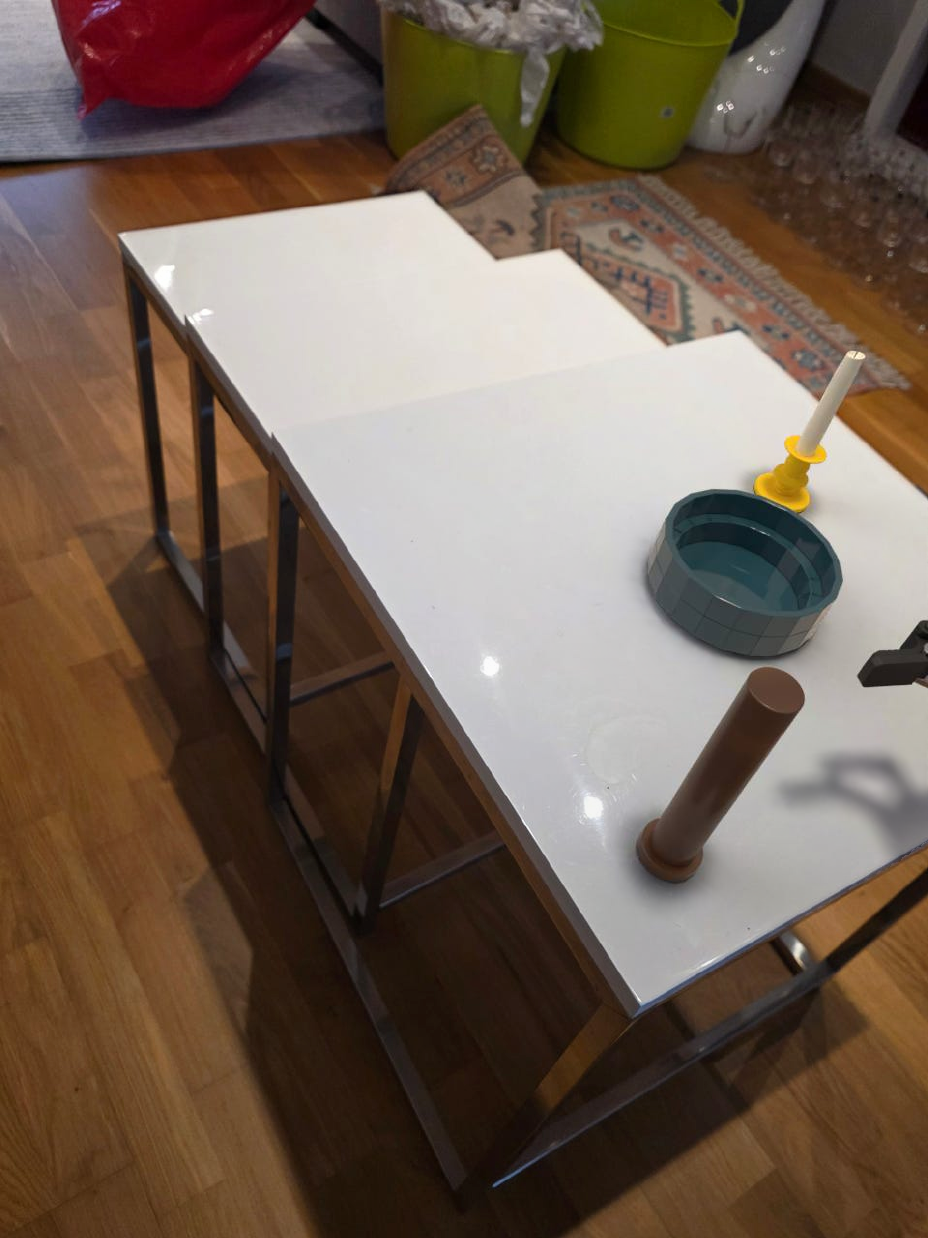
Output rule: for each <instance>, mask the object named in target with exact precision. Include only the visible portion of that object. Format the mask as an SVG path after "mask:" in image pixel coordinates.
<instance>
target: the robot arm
mask: <svg viewBox="0 0 928 1238" xmlns="http://www.w3.org/2000/svg"><path fill="white" fill-rule="evenodd" d="M856 677H857V680H858V681H859V683H860V684H861V686H862V687H863V688H880V687H897V686H898V687H899V686H912V685H913V684H917V685H920V686H921V687H924V688H926V689H928V619H922V620H920V621H919V622H918V623H917V624H916V626H915V627H914V628H913V630H912V631H911V632H910V634H909V635H908V636H907V637H906V639H904V641H903V643H902V644H901V645H900V646H899V648H897V649H895V648H894V649H878V650H875V652H873V653H872V654H871V655H870V656H869V658H868V659H867V661H866V662H865V663H864V665H863V666H862V667H861V669H860V671H859V672H858V673H857V675H856Z"/></svg>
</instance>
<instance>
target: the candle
mask: <svg viewBox="0 0 928 1238" xmlns="http://www.w3.org/2000/svg"><path fill="white" fill-rule="evenodd" d="M865 359H866V354H864V353H863V352H861V351H860V348H857V350H849V351H848V352H846V354H845V355H844V357H843V358H842V360H841V362H840V364H839V365H838V367H837V369H836V370H835V372H834V374H833V376H832V378H831V379H830V382H829V383H828V386H827V387H826V389H825V390H824V393H823V394H822V396H821V398H820V400H819V402H818V403H817V406H816V407H815V409H814V411H813V413H812V415H811V417H810V419H809V420H808V422H807V424H806V426H805V427H804V430H802V431H803V432H802V433H801V435H799V434H794V435H793V434H792V435H789V436H787V437H785V439H784V442H783V446H784V449H785V450H786V452H787V453H788V455H787V456H786V457H785V460H784V463H779V464H777V465H775V467H774V469H773V471H772V472H765V473H763V474H760V475H759V476H758V477H756V480H755V482H754V484H753V490H754V494H756V495H760V496H763V497H766V498H768V499H770V500H773V501H775V502H777V503H779V504H782V505H784V506H786V507H788V508H790V509H791V510H793V511H794V512H796V513H797V514H799V513H801V512H802V513H803V512H804V511H805V510H806V509H807V508H808V507H809V505H810V503H811V495H810V493H809V491H808V490H807V488H806V487H807V486H808V484H809V480H810V479H809V476H808V474H807V473H808V472H809V471H810V469H811V466H812V465H811V464H813V465H817V464H821V463H823V462H825V461H826V459H827V457H828V454H827V450H826V448H824V447H823V446H822V445H821V444H820V443H821V441H822V440H823V438H824V436H825V434H826V432H827V430H828V429H829V426H830V425H831V423H832V421H833V419H834V418H835V415H836V413H837V412H838V410H839V408H840V406H841V404H842V402H843V401H844V399H845V397H846V395H847V393H848V392H849V390H850V388H851V386H852V384H853V382H854V381H855V379H856V377H857V374H858V372H859V370H860V369H861V366H862V364H863V362H864V360H865Z"/></svg>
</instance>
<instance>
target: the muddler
mask: <svg viewBox="0 0 928 1238" xmlns="http://www.w3.org/2000/svg"><path fill="white" fill-rule="evenodd" d="M805 695H806V694H805V691H804V688H803V686H801V683H800V682H799V681H798V680H797V679H796V678H795V677H793V676H792V675H791V674H790V673H788V672H786V671H784V670H782V669H780V668H777V667H773V666H761V667H758V668H756V669H754V670H752V671H751V672H750V673H749V675H748V676H747V678H746V680H745V681H744V683H743V685H742V686H741V687H740V690H738V692H737V694H736V695H735V697H734V699H733V700H732V702H731V703H730V705H729V707H728V709H727V710H726V712H725V714H724V715H723V716H722V718H721V720H720V721H719V723H718V725H717V726H716V727H715V729H714V731H713V733H712V734H711V736H710V737H709V739H708V741H707V742H706V743H705V746H704V747H703V748H702V750H701V752H700V753H699V755H698V757H697V759H695V761H694V763H693V764H692V766H691V768H690V769H689V770H688V771H689V772H688V773H687V775H686V776H685V777H684V778H683V781H682V782H681V784H680V785H679V787H678V789H677V790H676V792H675V794H674V795H673V797H672V799H670V802H669V803H668V805H667V807H666V808H665V810H664V811H663V813H662V814H661V815H660V817H659V818H658V817H657V818H656V819H653V820H651V821H649V822H648V823H647V824H646V825H645V826H644V828H643V830H642V831H641V832H640V835H639V836H638V839H637V843H636V850H637V855H638V858H639V860H640V862H641V864H642V866H644V868H645V869H646V870H647V871H648V872H649V873H650V874H651V875H653V876H655V877H656V878H657V879H660V880H662V881H665V882H669V883H670V882H671V883H679V882H684V881H686V880H688V879H689V878H691V877H692V876H693V875H694V874H695V873H696V872H697V870H698V869H699V868H700V866H701V864H702V861H703V858H704V849H703V847H704V846H705V844H706V843H707V842H708V840H709V838H710V837H711V836H712V834H713V833H714V832H715V830H716V829H717V828H718V826H719V825H720V823H721V822H722V820H723V819H724V818H725V816H726V815H727V814H728V812H729V811H730V809H731V808H732V807H733V805H734V804H735V802H736V801H737V799H738V798H739V797H740V796H741V794H742V792H743V791H744V790H745V788H746V787H748V784H749V783H750V782H751V780H752V779H753V777H754V776H755V774H756V773H757V772H758V770H759V769H760V768H761V766H762V765H763V763H764V762H765V761H766V759H767V758H768V756H769V755H770V754H771V752H772V751H773V750H774V748H775V747H776V746H777V744H778V742H779V741H780V740H781V738H782V737H783V735H784V734H785V733H786V731H787V730H788V728H789V727H790V726H791V725H792V723H793V721H794V720H795V719H796V717H797V716H798V714H799V713H800V712H801V710H802V709H803V707H804V705H805V703H806V696H805Z"/></svg>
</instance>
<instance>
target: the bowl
mask: <svg viewBox="0 0 928 1238" xmlns="http://www.w3.org/2000/svg"><path fill="white" fill-rule="evenodd" d="M647 560H648V561H647V579H648V582H649V585H650V587H651V590H652V592H653V596H654V597H655V599H656V600H657V602H658V603H659V605H660V606H661V607H662V608H663V610H664V612H666V613H667V615H668V616H669V617H670V618H671V619H672V620H673V621H674V622H676V623H677V624H678V625H679V626H681V627H682V628H683V629H685V631H687V632H688V633H690V634H691V635H692V636H693V637H695V638H697V639H699V640H701V641H704V642H706V643H708V644H710V645H712V646H714V647H716V648H718V649H720V650H724V651H729V652H732V653H736V654H740V655H745V656H749V657H759V656H760V657H764V656H765V657H770V656H771V657H774V656H775V657H776V656H779V655H782V654H785V653H788V652H791V651H794V650H797V649H799V648H800V647H801V646H802V645H803V644H805V643H806V642H807V641H808V640H809V639H810V638H811V637H813V636H814V633H815V632H816V630H817V629H818V627H819V626H820V624H821V623H822V621H823V620H824V619H825V617H826V615H827V614H828V612H829V611H830V609H831V608H832V607H833V605H834V603H835V602H836V600H838V597H839V594H840V591H841V588H842V585H843V583H844V578H843V572H842V566H841V561H840V558H839V557H838V554H837V553H836V551H835V550H834V548H833V546H832V544H831V542H830V541H829V539H827V538H826V536H825V535H824V534H823V533H822V532H821V531H819V529H818V528H817V527H816V526H815V525H814V524H813V523H811V522H810V521H809V520H807V519H806V518H804V516H802V515H800V514H799V513H796V512H794V511H793V510H791V509H790V508H788V507H786V506H784V505H782V504H779V503H777V502H775V501H773V500H770V499H768V498H766V497H763V496H760V495H756V493H753V492H752V493H751V492H749V491H744V490H739V489H729V488H728V489H727V488H726V489H725V488H709V489H705V490H700V491H696V492H691V493H689V494H688V495H686V496H684V497H683V498H681V499H680V500H678V501H676V502H675V503H674V504H673V506H672V508H671V509H670V511H669V512H668V514H667V516H666V517H665V519H664V522H663V524H662V526H661V529H660V531H659V533H658V535H657V538H656V539H655V542H654V544H653V546H652V548H651V551H650V554H649V556H648V558H647Z"/></svg>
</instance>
